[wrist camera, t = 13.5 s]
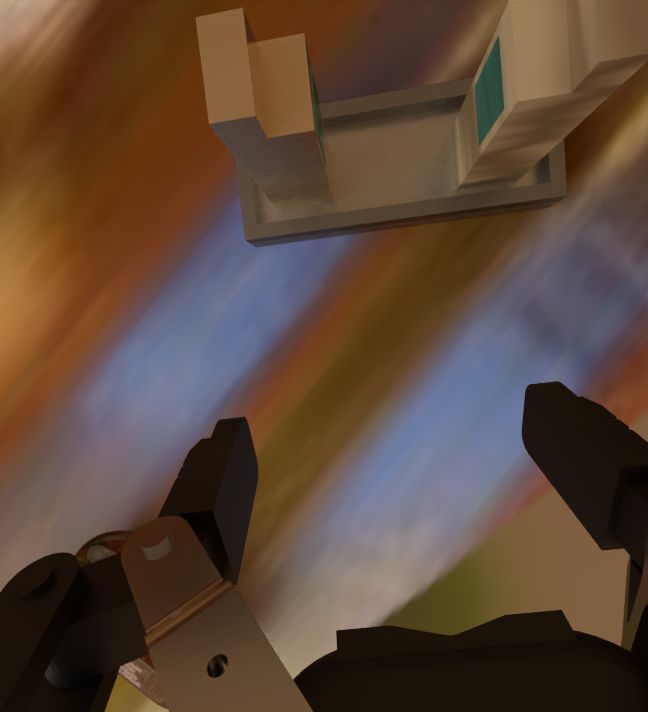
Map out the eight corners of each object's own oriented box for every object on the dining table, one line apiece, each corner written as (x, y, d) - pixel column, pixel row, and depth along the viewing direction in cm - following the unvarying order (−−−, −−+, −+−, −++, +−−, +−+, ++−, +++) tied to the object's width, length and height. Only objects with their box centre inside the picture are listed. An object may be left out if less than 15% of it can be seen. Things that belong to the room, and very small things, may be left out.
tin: (257, 620, 34) (223, 717, 26) (237, 645, 35) (196, 748, 26) (122, 512, 35) (45, 573, 26) (103, 538, 35) (21, 606, 27)
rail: (255, 247, 31) (161, 183, 17) (242, 137, 31) (133, -25, 16) (548, 207, 29) (730, 94, 14) (540, 86, 28) (722, -158, 14)
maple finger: (457, 187, 28) (535, 72, 15) (452, 125, 28) (528, -46, 15) (520, 178, 27) (657, 51, 15) (516, 115, 27) (651, -71, 14)
